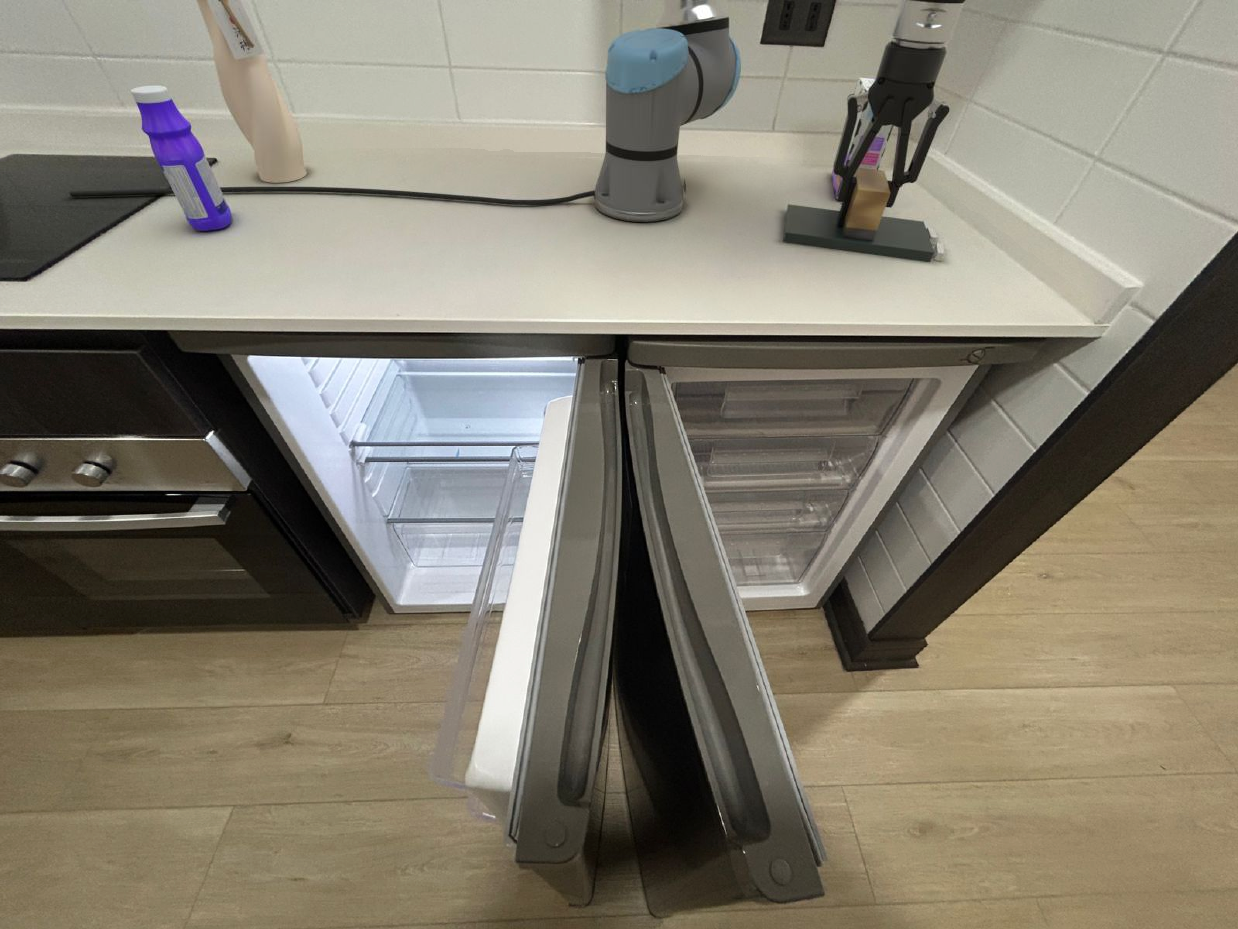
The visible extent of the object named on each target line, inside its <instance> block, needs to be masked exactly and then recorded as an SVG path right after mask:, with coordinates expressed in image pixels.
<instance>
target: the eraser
mask: <svg viewBox="0 0 1238 929" xmlns="http://www.w3.org/2000/svg"><path fill="white" fill-rule="evenodd" d="M854 177H856V186H855V189H854V192H853V195H852V198H851V201H850V205H849V208H848V211H847V214H846V217H845V220H844V223H843V226H842V231H843V237H847V238H855V239H863V240H871V241H873V240H874V237H875V234H876V232H877V229H878V226H879V223H880V221H881V218H882V216H883V215H884V212H885V210H886V208H887V207H886V204H887V201H888V199H889V196H890V189H889V186H888V182H887V180H888V178H887V175H886V171H885V170H883V169H878V170H875V169H866V168H858V169H857V171H856V173H855V175H854Z"/></svg>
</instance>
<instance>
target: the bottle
mask: <svg viewBox="0 0 1238 929" xmlns="http://www.w3.org/2000/svg"><path fill="white" fill-rule="evenodd" d="M130 93H131V95H132V97H133V99H134V101H135V104H136V105H137V108H138V110H139V113H140V118H141V130H142V132H143V133H144V134H146V135H147V136H148V138H149V143H150V148H151V151H152V154H153V155H154V158H155V160H156V161H157V163H158V165H159V166H160V169H161V170H162V172H163V174H164V176H165V178H166V180H167V183H168V184H169V186H170V187H171V188H170V189H172V190H173V192H174V194H173V195H174V196H175V198H176V200H177V202H178V204H179V206H180V208H181V210H182V212H183V214H184V216H185V219H186V221H187V222H188V224H189V225H190V226H191V227H192V228H193V229H195V230H196V231H198V232H199V231H201V232H202V231H204V232H205V231H206V232H207V231H215V230H221V229H224V228H227V226H229V225H230V224H231V222H232V218H233V216H232V211H231V208H230V206H229V204H228V202H227V200H226V197H225V196H224V194H223V193H222V191H221V189H220V187H221V186H220V185H219V182H218V181H217V178H216V176H215V174H214V172H213V170H212V167H211V165H210V164H209V161H208V159H207V157H206V154H205V152H204V148H203V147H202V145H201V143H200V141H199V140H198V138H197V137H196V136H195V135H194V133H193V132H192V124H191V122H190V121H188V120H187V118H185V116H184V115H183V114H182V113H181V112H180V111H179V109H178V108H177V105H176V104H175V102H174V101H173V98H172V96H171V94H170V92H169V90H168V88H167V87H166V86H163V85H143V86H137V87H134V88H131V89H130Z"/></svg>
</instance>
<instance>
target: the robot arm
mask: <svg viewBox="0 0 1238 929" xmlns="http://www.w3.org/2000/svg"><path fill="white" fill-rule="evenodd" d="M965 2H966V0H899V1H898V4H897V7H896V11H895V14H894V18H893V21H892V24H891V26H890V30H889V36H890V39H891V40H890V41H888V42H887V43H886V44H885V46H884V50H883V54H882V56H881V60H880V64H879V67H878V69H877V74H876V77H875V78H874V79H875V81H874V83H873V84H872V86H871V87H870V88H869V90H868V92H864V93H861V94H858V95H855V94H854V93H850V94H848V95H847V98H846V107H847V108H846V111H847V114H846V118H845V120H844V121H845V122H844V125H843V129H842V133H841V136H840V140H839V143H838V144H839V145H838V147H837V150H836V154H835V158H834V162H833V168H832V170H833V169H834V174H835V175H839V176H841V177H842V182H841V185H840V188H839V192H838V199H837V202H839V203H841V206H840V208H839V211H840V212H839V215H838V218H837V223H838V226H843V223H844V220H845V217H846V214H847V211H848V208H849V205H850V201H851V198H852V195H853V192H854V189H855V186H856V177H854V175H855V173H856V171H857V169H858V167H859V166H860V164H861V162H862V160H863V158H864V157H865V155H866V153H867V151H868V149H869V148H870V146H871V144H872V142H873V140H874V138H875V137H876V135H877V133H878V132H879V131H880V129H881V127H882V126H887V125H893V127H896V128H897V137H896V145H895V152H894V161H893V168H892V175H891V176H892V177H891V180H888V179H887V182H888V186H889V189H890V196H889V199H888V201H887V204H886V207H885V208H892V207H893V206H894V205H895V203H896V199H897V197H898V194H899V191H900V189H901V188H902V187H903V185H906V184H909V183H910V184H914V183H916V182H917V180H918V178H919V176H920V173H921V170H922V168H923V166H924V163H925V161H926V158H927V156H928V153H929V151H930V148H931V146H932V143H933V141H934V138H935V136H936V134H937V130H938V129H939V126H940V125H941V124H942V123H943V121H944V120H945V118H947V116H948V114H949V113H950V106H949V105H948V103H947V102H946V101H940V100H938V99H936V98H935V85H936V82H937V79H938V76H939V74H940V71H941V69H942V66H943V63H944V61H945V58H946V55H947V52H948V51H947V48H946V46H945V44H948V43H950V41H952V38H953V36H954V33H955V30H956V27H957V25H958V22H959V19H960V16H961V14H962V12H963V11H962V10H963V8H964V5H965ZM662 7H663V8H662V13H661V15H660V17H658V20H657V21H656V23H655V25H654V27H651V28H645V29H635V30H631V31H627V32H624V33H622V34H620V35H618V36H617V37H615V38H614V39H613V40H612V41H611V43H610V44H609V47H608V50H607V59H606V60H607V62H606V69H605V75H604V76H605V85H606V86H605V152H604V158H603V160H602V161H603V162H602V163H601V164H602V165H601V167H600V171H599V174H598V177H597V181H596V184H595V188H594V190H590V191H589V190H588V191H585V192H580V193H576V194H572V195H569V196H564V197H563V196H562V197H557V198H546V199H545V198H543V199H511V198H510V199H509V198H508V199H507V198H497V197H487V196H486V197H485V196H476V195H462V194H452V193H451V194H449V193H436V192H425V191H424V192H423V191H410V190H395V189H379V188H358V187H337V186H336V187H334V186H332V187H330V186H219V187H220V189H221V191H222V193H225V194H226V193H333V194H357V195H358V194H360V195H378V196H379V195H380V196H395V197H396V196H397V197H411V198H425V199H436V200H449V201H462V202H463V201H464V202H475V203H487V204H497V205H509V206H548V205H557V204H565V203H571V202H574V201H577V200H582V199H585V198H590V197H593V204H594V207H595V208H596V209H597V210H598V211H599V212H600V213H602V214H603V215H606V216H608V217H610V218H613V219H617V220H622V221H627V222H634V223H635V222H636V223H650V222H660V221H664V220H668V219H671V218H674V217H675V216H677V215H679V214H680V213H681V212H682V210H683V207H684V194H686V193H687V192H686V191H687V182H686V180H685V178H683V183H682V179H681V173H680V169H679V168H680V167H679V162H678V149H679V140H680V139H679V138H680V132H681V131H680V129H681V126H685V125H686V124H690V123H692V122H695V121H698V120H704V119H705V120H706V119H707V118H709V117H711V116H713V115H715V113H717V112H719V111H720V110H721V109H723V108H724V107H726V105H727V104H728V103H729V102H730V101H731V99H732V98H733V96H734V94H735V92H736V90H737V88H738V85H739V83H740V78H741V72H742V59H741V58H742V57H741V53H740V51H739V47H738V45H737V44H736V43H735V41H734V38H733V37H732V36H731V34H730V14H729V12H728V11H727V10H726V9H725V7H723V5H722V4H721V1H720V0H662ZM867 101H869V104H870V107H871V110H872V113H873V116H872V118H871V120H870V122H869V125H868V127H867V129H866V131H865V133H864V135H863V136H862V138H861V140H860V142H859V144H858V146H857V148H856V150H855V151H854V153H853V155H852V157H851V159H850V161H849V163H848V165H847V166H845V165H844V163H845V159H846V156H847V152H848V149H849V145H850V142H851V138H852V135H853V131H854V128H855V124H856V121H857V113H859V112H861V111H862V110H863V106H864V104H865V103H866V102H867ZM926 109H928V110H927V112H926V116H927V120H926V122H925V124H924V126H923V129H922V132H921V134H920V137H919V140H918V142H917V144H916V147H915V150H914V152H913V156H912V158H911V161H910V163H909V166H908V168H907V170H906V171H905V168H906V161H907V156H908V147H909V141H910V135H911V130H912V123H913V121H914V120H915V119H916V118H917V117H918V116H920V114H922V113H923V112H924V111H925V110H926ZM69 195H70V196H71V197H72V198H82V197H84V198H86V197H87V198H89V197H120V196H121V197H123V196H151V195H152V196H155V195H175V194H174V192H173V190H172V188H148V189H147V188H146V189H143V188H142V189H112V190H70V191H69Z"/></svg>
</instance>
